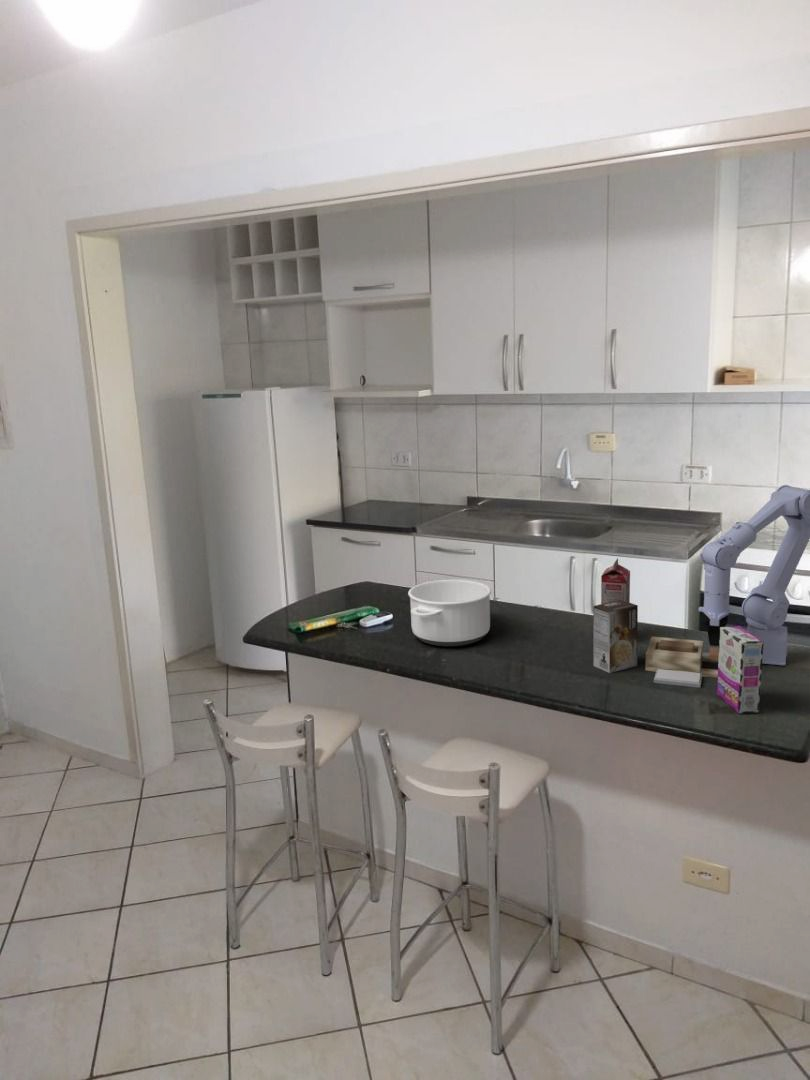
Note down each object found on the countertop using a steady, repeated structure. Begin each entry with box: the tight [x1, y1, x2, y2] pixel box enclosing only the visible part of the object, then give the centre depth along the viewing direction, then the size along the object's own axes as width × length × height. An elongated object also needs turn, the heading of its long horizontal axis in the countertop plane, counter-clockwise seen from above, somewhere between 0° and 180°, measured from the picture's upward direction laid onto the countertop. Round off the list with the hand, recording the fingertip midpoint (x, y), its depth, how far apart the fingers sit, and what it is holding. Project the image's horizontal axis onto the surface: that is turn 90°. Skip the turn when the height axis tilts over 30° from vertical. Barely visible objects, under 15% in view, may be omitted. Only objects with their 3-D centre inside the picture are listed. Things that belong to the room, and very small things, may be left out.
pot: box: [407, 579, 492, 647], centre depth 238 cm, size 33×23×14 cm
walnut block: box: [659, 640, 694, 653], centre depth 211 cm, size 8×4×2 cm, turn 68°
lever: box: [658, 646, 719, 660], centre depth 210 cm, size 15×6×2 cm, turn 68°
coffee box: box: [592, 600, 639, 674], centre depth 211 cm, size 9×6×16 cm
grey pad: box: [653, 669, 703, 689], centre depth 202 cm, size 10×6×1 cm, turn 68°
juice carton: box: [600, 557, 631, 604], centre depth 229 cm, size 7×7×22 cm
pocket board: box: [644, 636, 719, 679], centre depth 211 cm, size 17×13×4 cm
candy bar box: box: [716, 625, 764, 715], centre depth 186 cm, size 11×5×16 cm, turn 5°
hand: (714, 644), depth 207 cm, fingers closed
